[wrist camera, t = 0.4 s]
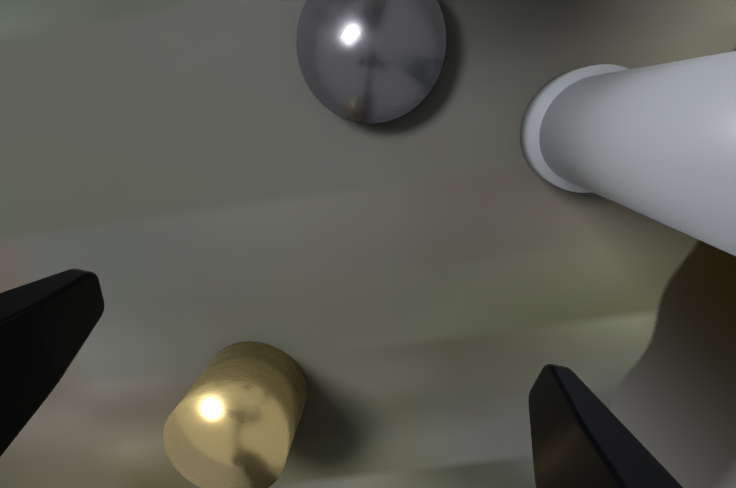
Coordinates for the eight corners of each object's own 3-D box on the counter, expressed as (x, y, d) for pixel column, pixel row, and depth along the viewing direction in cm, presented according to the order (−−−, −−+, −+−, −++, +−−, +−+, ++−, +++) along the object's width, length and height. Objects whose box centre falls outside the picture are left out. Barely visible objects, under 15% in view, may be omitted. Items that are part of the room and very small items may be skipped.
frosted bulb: (623, 190, 20) (970, 321, 8) (511, 182, 20) (672, 295, 8) (654, 71, 18) (1159, -3, 6) (531, 64, 19) (774, -19, 6)
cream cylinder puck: (307, 432, 27) (285, 503, 22) (210, 421, 27) (169, 488, 22) (308, 346, 24) (285, 403, 20) (204, 336, 25) (157, 389, 20)
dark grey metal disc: (435, 127, 20) (437, 128, 19) (301, 118, 20) (296, 119, 19) (452, -31, 18) (455, -39, 17) (302, -38, 18) (296, -46, 17)
